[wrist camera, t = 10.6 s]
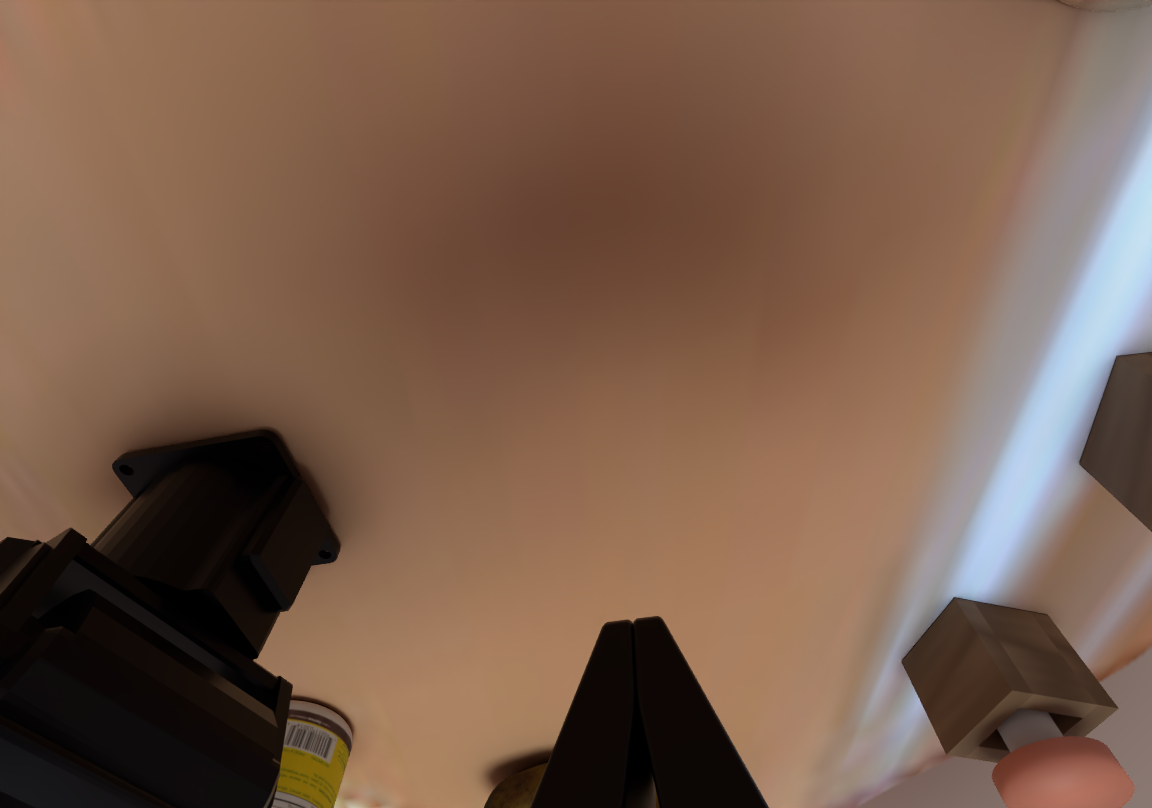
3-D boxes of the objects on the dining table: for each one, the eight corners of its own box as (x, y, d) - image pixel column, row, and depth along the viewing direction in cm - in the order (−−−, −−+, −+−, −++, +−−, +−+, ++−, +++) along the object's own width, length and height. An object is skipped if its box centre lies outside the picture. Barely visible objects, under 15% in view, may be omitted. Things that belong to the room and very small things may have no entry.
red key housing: (901, 661, 30) (946, 754, 26) (954, 597, 28) (1012, 690, 24) (988, 676, 31) (1044, 769, 27) (1047, 615, 28) (1118, 708, 24)
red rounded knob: (924, 694, 28) (986, 820, 24) (977, 635, 26) (1056, 762, 22) (1007, 707, 29) (1083, 834, 25) (1066, 651, 27) (1161, 779, 22)
